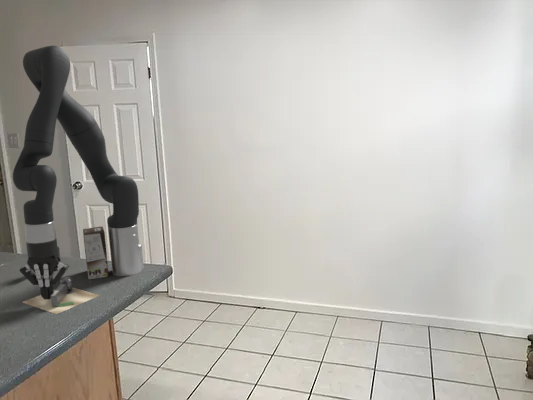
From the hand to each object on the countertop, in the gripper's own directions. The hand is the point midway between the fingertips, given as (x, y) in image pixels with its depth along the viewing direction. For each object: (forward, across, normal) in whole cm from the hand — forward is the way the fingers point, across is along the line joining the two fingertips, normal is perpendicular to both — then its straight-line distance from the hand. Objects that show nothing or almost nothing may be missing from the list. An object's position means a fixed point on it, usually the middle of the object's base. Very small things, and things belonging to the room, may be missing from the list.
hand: (47, 298), depth 132 cm
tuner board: (+3, -2, -3) cm, 5 cm away
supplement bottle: (+3, +11, -30) cm, 32 cm away
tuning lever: (+1, -2, -4) cm, 5 cm away
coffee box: (+3, -6, -24) cm, 25 cm away
